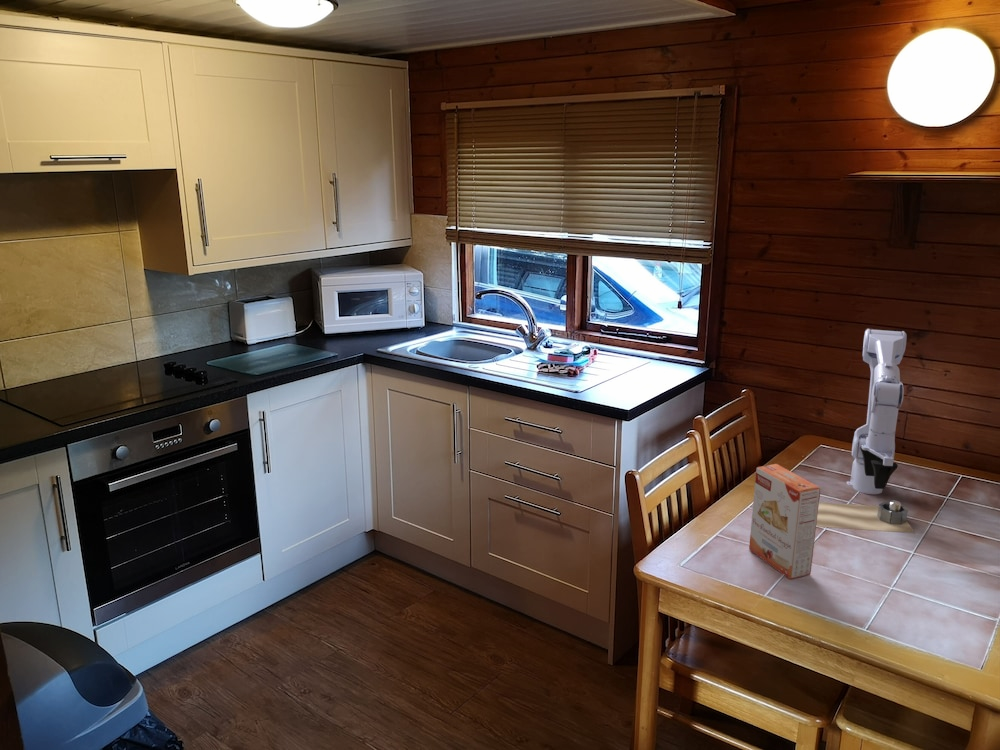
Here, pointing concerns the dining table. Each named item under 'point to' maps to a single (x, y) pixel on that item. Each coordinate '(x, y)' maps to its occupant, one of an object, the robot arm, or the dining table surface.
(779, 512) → the cracker box
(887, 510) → the ring hub
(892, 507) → the steel post
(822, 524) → the board
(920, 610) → the dining table surface
